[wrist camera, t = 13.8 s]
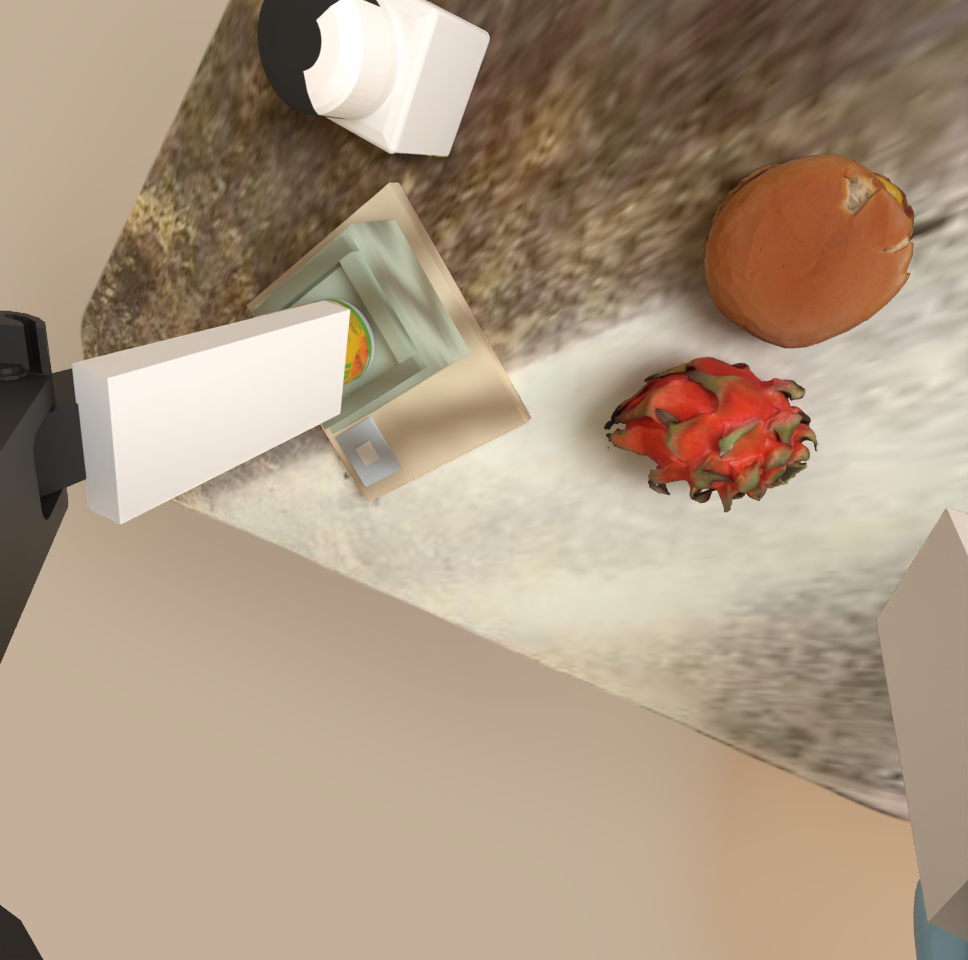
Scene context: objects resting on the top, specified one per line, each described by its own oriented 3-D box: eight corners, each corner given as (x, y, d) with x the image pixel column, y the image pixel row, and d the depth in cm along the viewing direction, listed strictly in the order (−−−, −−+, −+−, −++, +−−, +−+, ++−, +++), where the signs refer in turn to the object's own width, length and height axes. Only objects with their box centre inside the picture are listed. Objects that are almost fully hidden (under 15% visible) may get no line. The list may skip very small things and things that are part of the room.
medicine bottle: (359, 109, 43) (226, 87, 33) (393, -17, 39) (255, -84, 29) (449, 159, 42) (339, 152, 32) (493, 34, 38) (385, -17, 28)
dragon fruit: (831, 428, 41) (641, 403, 47) (842, 330, 34) (620, 315, 40) (800, 549, 37) (600, 505, 43) (806, 466, 31) (569, 428, 37)
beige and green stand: (531, 418, 47) (491, 453, 41) (376, 496, 55) (323, 535, 49) (398, 182, 44) (335, 182, 38) (257, 303, 52) (186, 318, 46)
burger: (685, 307, 40) (673, 320, 36) (746, 136, 35) (739, 130, 32) (856, 358, 37) (863, 378, 33) (945, 181, 33) (965, 181, 29)
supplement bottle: (344, 395, 45) (243, 443, 37) (293, 331, 44) (180, 365, 36) (392, 348, 42) (294, 389, 34) (339, 279, 41) (227, 303, 33)
